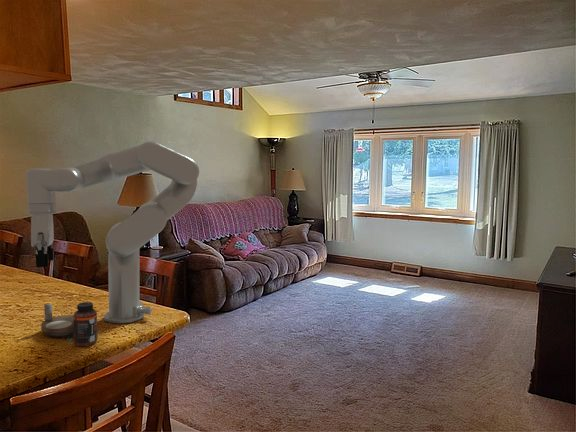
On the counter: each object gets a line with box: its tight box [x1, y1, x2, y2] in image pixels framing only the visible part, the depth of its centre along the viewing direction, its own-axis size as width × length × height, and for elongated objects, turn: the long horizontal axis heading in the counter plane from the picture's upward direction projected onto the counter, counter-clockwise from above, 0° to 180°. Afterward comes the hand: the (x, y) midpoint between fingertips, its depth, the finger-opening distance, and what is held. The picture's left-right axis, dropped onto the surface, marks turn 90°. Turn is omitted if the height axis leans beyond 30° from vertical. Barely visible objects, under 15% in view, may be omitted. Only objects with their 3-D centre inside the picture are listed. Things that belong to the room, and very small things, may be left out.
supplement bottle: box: [73, 301, 98, 347], centre depth 124 cm, size 6×6×11 cm
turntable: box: [40, 303, 74, 334], centre depth 132 cm, size 13×13×6 cm
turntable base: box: [46, 333, 74, 343], centre depth 131 cm, size 10×13×1 cm
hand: (45, 263), depth 137 cm, fingers open, 9 cm apart
